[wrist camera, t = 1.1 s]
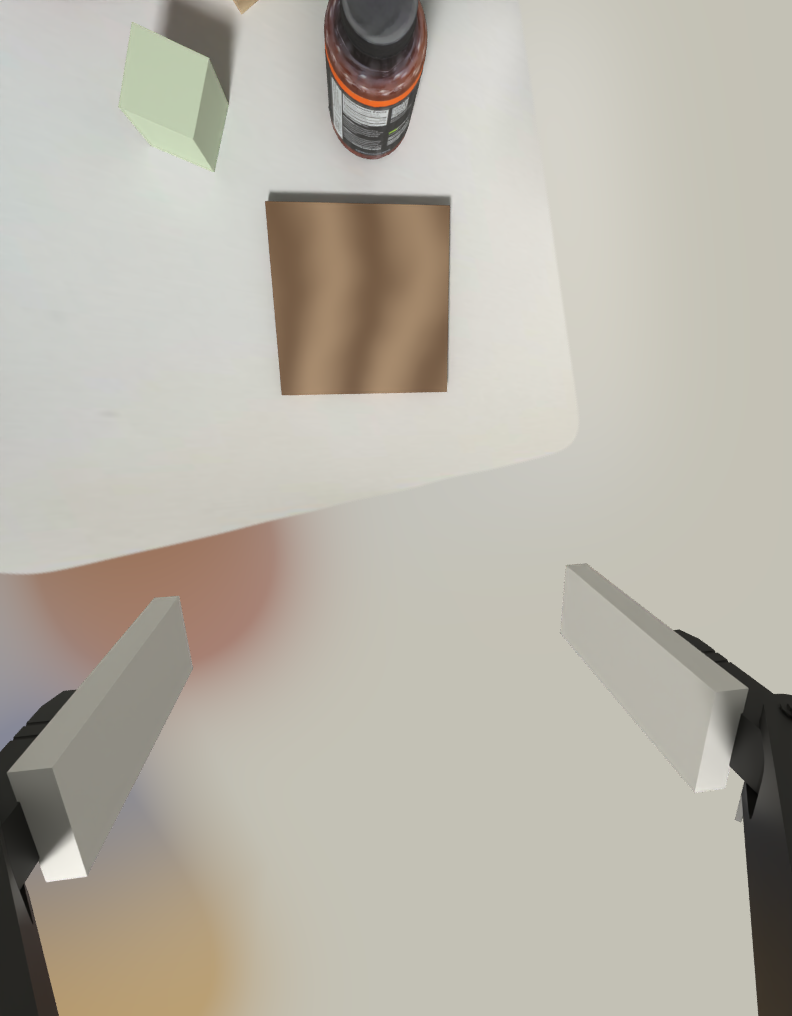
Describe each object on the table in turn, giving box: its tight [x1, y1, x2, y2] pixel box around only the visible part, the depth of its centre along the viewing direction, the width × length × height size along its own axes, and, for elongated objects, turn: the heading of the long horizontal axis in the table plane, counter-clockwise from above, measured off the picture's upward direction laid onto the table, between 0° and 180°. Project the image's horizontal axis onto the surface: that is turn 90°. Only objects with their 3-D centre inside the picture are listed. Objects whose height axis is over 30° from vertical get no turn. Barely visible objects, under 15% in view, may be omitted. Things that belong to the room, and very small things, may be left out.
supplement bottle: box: [324, 0, 427, 159], centre depth 28 cm, size 6×6×11 cm
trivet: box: [265, 201, 450, 395], centre depth 36 cm, size 14×14×1 cm
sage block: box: [118, 22, 229, 172], centre depth 30 cm, size 4×4×5 cm
